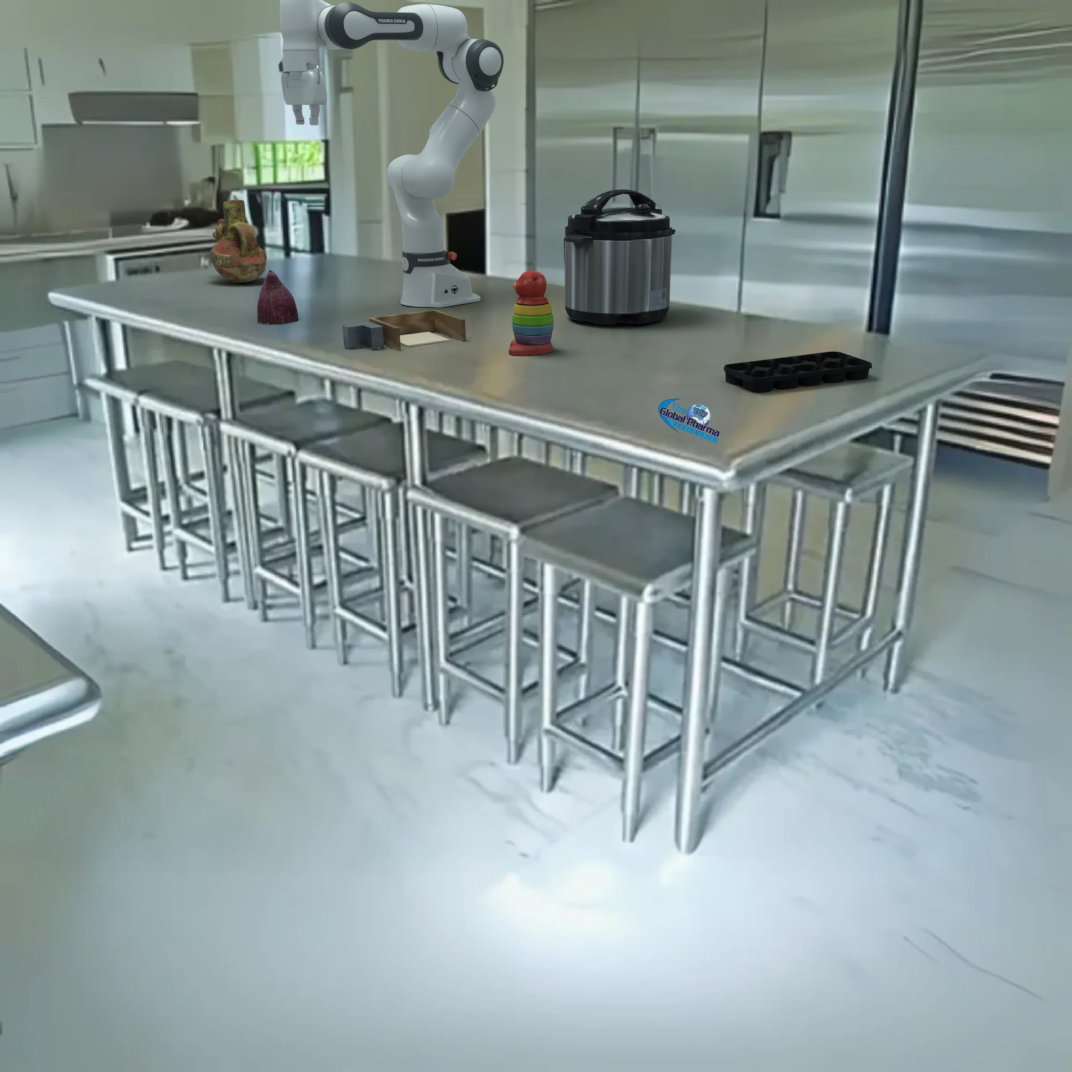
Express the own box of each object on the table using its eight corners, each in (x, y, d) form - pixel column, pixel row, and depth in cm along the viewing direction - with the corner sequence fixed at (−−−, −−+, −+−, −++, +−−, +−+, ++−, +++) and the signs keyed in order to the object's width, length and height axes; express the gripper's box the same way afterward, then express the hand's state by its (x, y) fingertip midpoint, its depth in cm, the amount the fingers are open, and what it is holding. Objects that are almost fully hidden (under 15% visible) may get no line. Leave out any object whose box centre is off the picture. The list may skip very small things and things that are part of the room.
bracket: (371, 343, 252) (370, 321, 250) (384, 348, 246) (382, 326, 245) (344, 346, 249) (342, 325, 247) (356, 352, 243) (354, 330, 241)
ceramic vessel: (244, 274, 352) (235, 194, 342) (285, 283, 334) (277, 199, 325) (195, 280, 341) (185, 198, 332) (235, 290, 324) (225, 203, 314)
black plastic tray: (880, 378, 217) (882, 360, 216) (777, 402, 201) (779, 383, 200) (813, 363, 231) (814, 345, 229) (712, 384, 215) (713, 366, 213)
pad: (428, 333, 261) (428, 331, 261) (449, 341, 253) (449, 339, 253) (387, 338, 256) (387, 337, 256) (407, 347, 247) (407, 345, 247)
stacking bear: (510, 345, 248) (508, 267, 241) (554, 345, 248) (553, 266, 241) (507, 356, 238) (506, 274, 231) (553, 355, 238) (553, 274, 231)
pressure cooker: (657, 305, 292) (661, 183, 280) (688, 326, 266) (694, 192, 254) (549, 310, 288) (548, 186, 276) (570, 331, 262) (570, 195, 250)
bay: (436, 329, 265) (435, 309, 263) (466, 340, 253) (465, 319, 251) (369, 338, 256) (368, 317, 254) (396, 350, 244) (395, 328, 243)
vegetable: (289, 337, 275) (284, 282, 266) (251, 330, 276) (245, 276, 267) (305, 319, 283) (301, 265, 274) (268, 313, 285) (263, 259, 275)
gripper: (330, 62, 254) (335, 125, 259) (299, 65, 270) (304, 124, 275) (305, 62, 251) (310, 126, 256) (275, 65, 267) (281, 124, 272)
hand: (307, 125), depth 266 cm, fingers open, 8 cm apart
